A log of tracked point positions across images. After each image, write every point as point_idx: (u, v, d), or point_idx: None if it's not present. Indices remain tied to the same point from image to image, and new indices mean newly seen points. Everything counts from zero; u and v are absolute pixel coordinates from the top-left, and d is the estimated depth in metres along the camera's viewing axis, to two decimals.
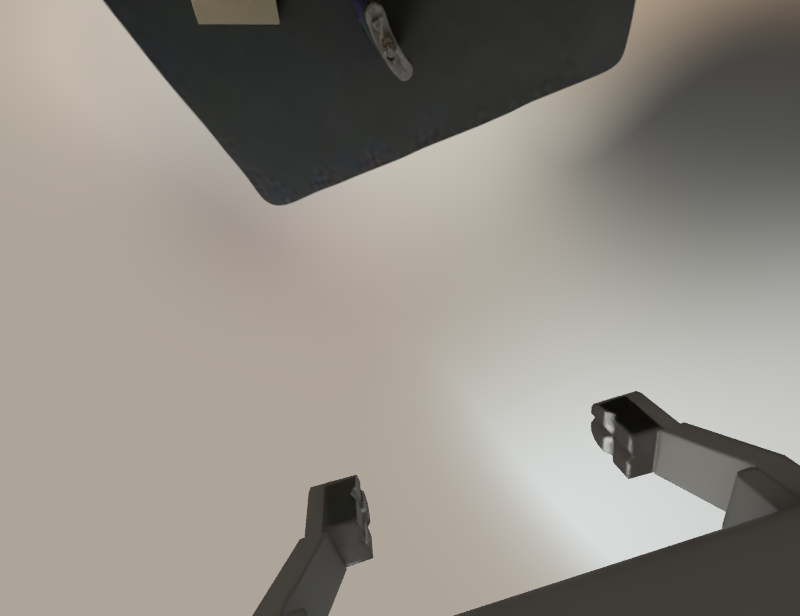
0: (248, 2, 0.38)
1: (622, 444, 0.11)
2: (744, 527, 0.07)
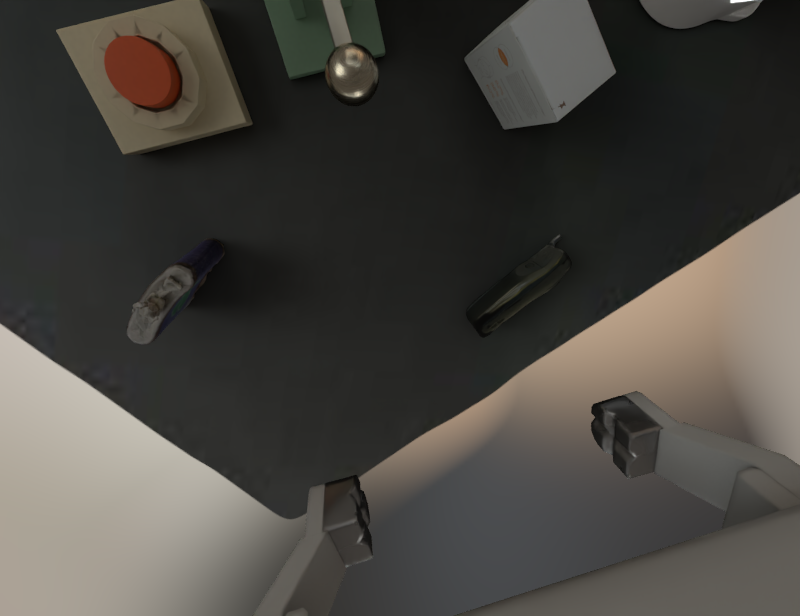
0: (118, 108, 0.28)
1: (622, 444, 0.11)
2: (744, 527, 0.07)
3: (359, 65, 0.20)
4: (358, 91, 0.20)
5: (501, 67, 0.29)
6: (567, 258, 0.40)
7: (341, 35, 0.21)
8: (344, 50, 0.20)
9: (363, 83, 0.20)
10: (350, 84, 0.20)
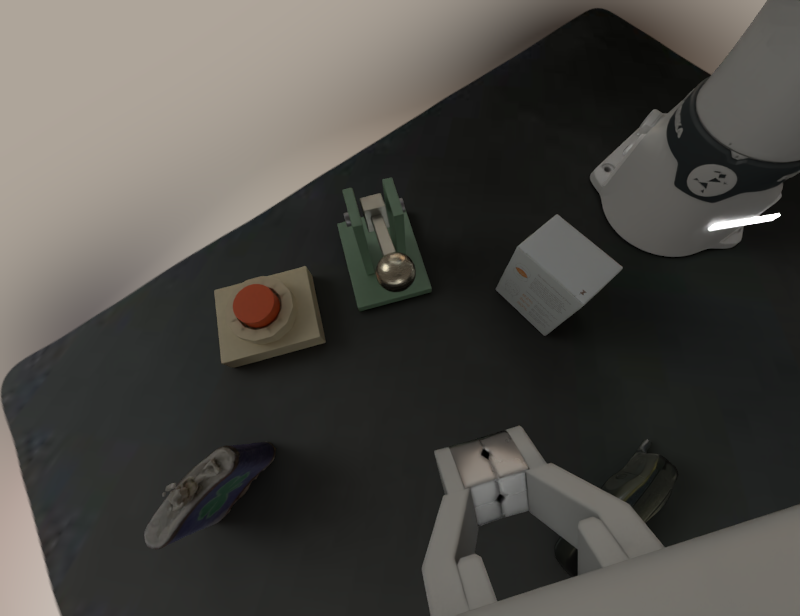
0: (231, 328, 0.38)
1: None
2: (744, 527, 0.07)
3: (399, 260, 0.27)
4: (398, 276, 0.27)
5: (523, 280, 0.36)
6: (667, 462, 0.32)
7: (389, 252, 0.29)
8: (389, 254, 0.27)
9: (402, 271, 0.27)
10: (392, 272, 0.26)
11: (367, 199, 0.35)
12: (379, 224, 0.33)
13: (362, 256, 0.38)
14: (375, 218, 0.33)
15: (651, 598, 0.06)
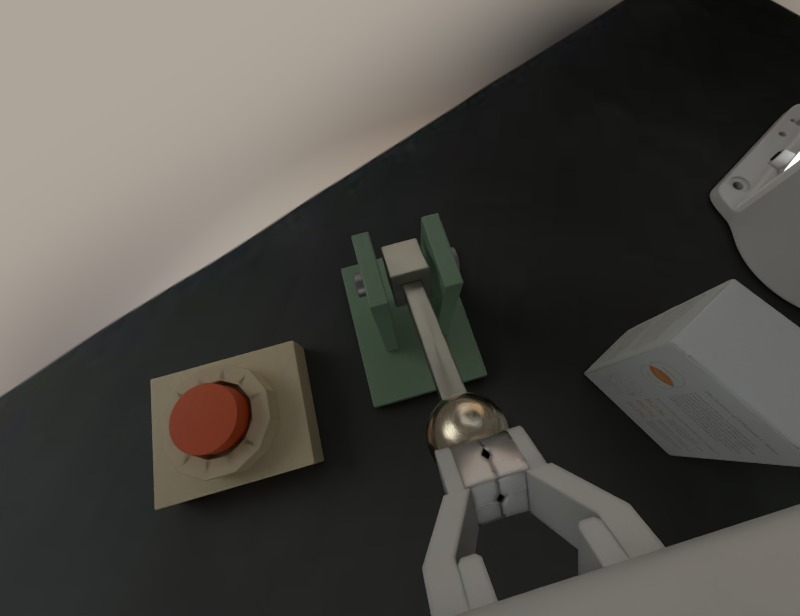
0: (169, 456, 0.23)
1: None
2: (744, 527, 0.07)
3: (484, 429, 0.12)
4: None
5: (657, 385, 0.21)
6: None
7: (449, 382, 0.15)
8: (458, 408, 0.13)
9: None
10: None
11: (394, 250, 0.20)
12: (420, 305, 0.18)
13: (382, 336, 0.23)
14: (411, 290, 0.19)
15: (651, 598, 0.06)
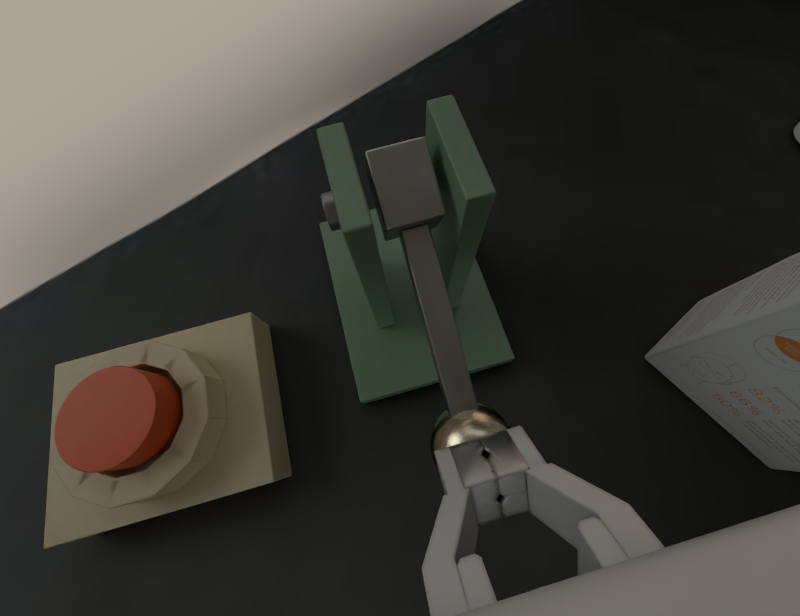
0: (59, 473, 0.16)
1: None
2: (744, 527, 0.07)
3: None
4: None
5: (781, 367, 0.14)
6: None
7: (460, 396, 0.13)
8: None
9: None
10: None
11: (390, 165, 0.12)
12: (427, 274, 0.13)
13: (370, 299, 0.16)
14: (414, 243, 0.13)
15: (651, 598, 0.06)
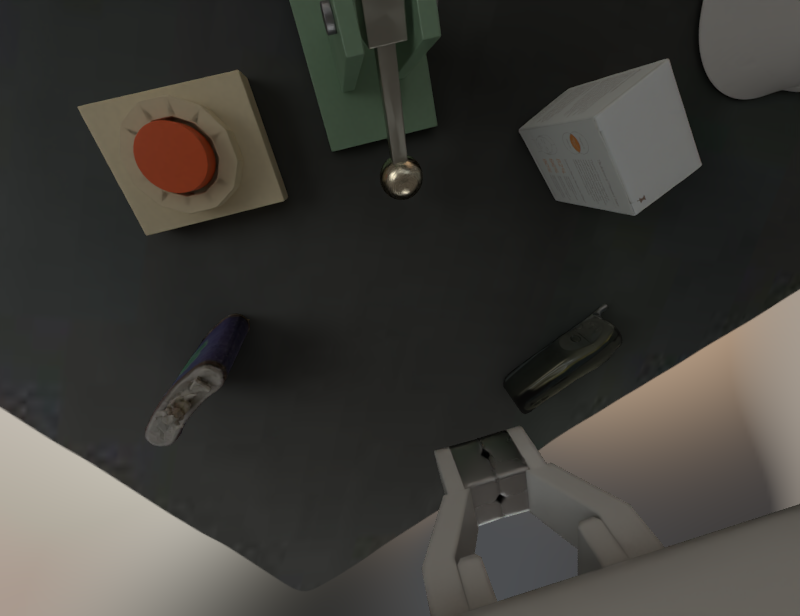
0: (145, 192, 0.25)
1: None
2: (744, 527, 0.07)
3: (412, 192, 0.26)
4: None
5: (569, 150, 0.27)
6: (618, 334, 0.37)
7: (399, 154, 0.24)
8: (403, 184, 0.25)
9: None
10: (402, 199, 0.27)
11: None
12: (390, 79, 0.21)
13: (345, 80, 0.23)
14: (384, 55, 0.20)
15: (651, 598, 0.06)
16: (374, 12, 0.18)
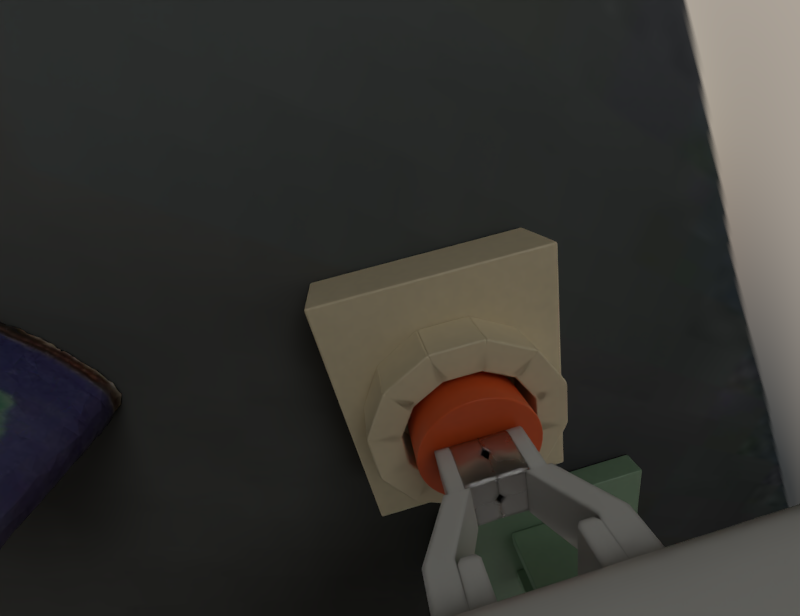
0: (412, 373, 0.11)
1: None
2: (744, 527, 0.07)
3: None
4: None
5: None
6: None
7: None
8: None
9: None
10: None
11: None
12: None
13: None
14: None
15: (651, 598, 0.06)
16: None
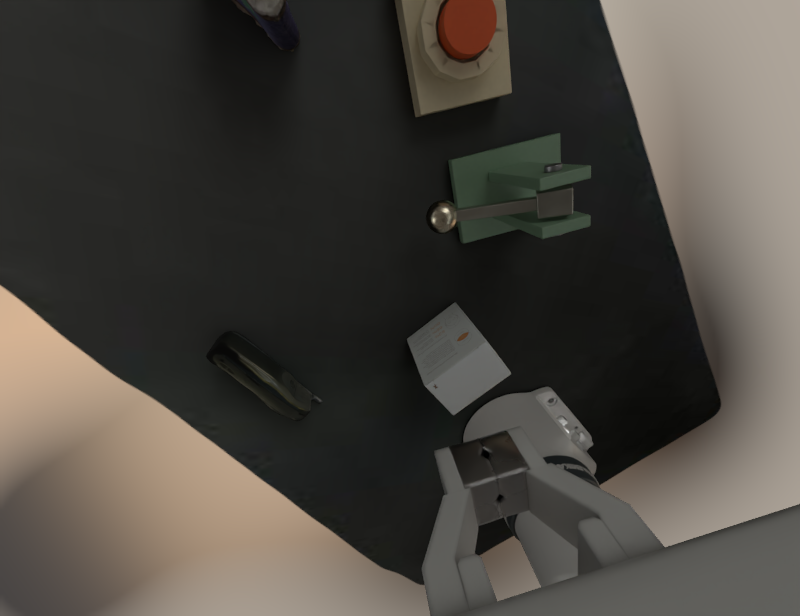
0: None
1: None
2: (744, 527, 0.07)
3: (434, 226, 0.34)
4: None
5: (455, 335, 0.39)
6: (304, 415, 0.42)
7: (463, 215, 0.33)
8: (443, 218, 0.33)
9: (429, 225, 0.34)
10: (428, 218, 0.34)
11: (563, 198, 0.29)
12: (514, 207, 0.32)
13: (507, 175, 0.33)
14: (529, 203, 0.31)
15: (651, 598, 0.06)
16: (555, 197, 0.29)
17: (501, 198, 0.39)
